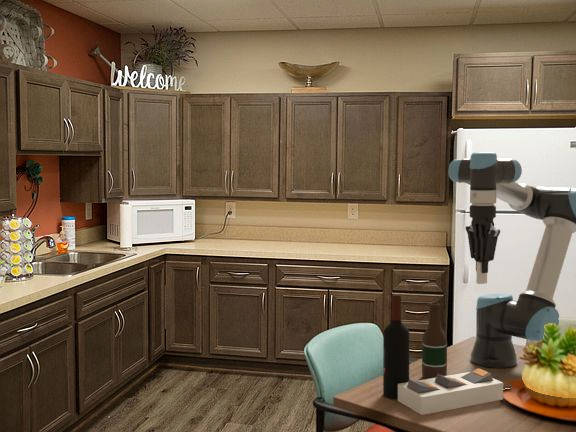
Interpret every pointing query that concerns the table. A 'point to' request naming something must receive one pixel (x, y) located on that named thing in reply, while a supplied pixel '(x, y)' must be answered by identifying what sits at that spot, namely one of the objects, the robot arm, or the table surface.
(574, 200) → the robot arm
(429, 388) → the rocker
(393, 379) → the wine bottle
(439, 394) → the power strip
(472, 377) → the rocker
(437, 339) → the beer bottle
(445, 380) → the rocker
